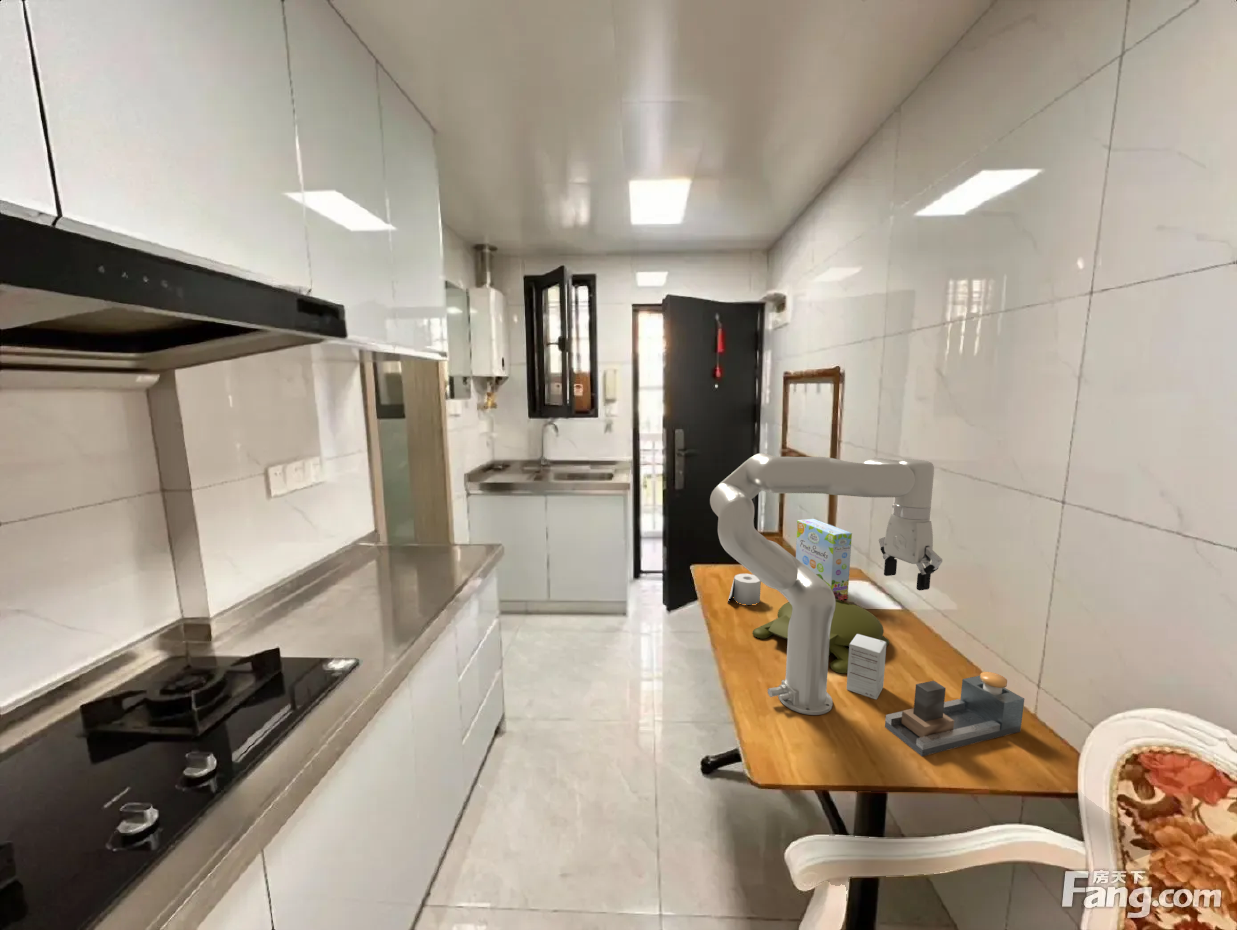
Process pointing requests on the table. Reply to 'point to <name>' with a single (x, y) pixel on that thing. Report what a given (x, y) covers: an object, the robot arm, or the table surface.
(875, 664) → the supplement box
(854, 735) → the table surface
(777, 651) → the table surface
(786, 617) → the green toy turtle
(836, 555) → the snack box
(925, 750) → the rail base
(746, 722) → the table surface
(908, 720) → the block
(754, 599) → the toilet tissue
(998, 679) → the button
